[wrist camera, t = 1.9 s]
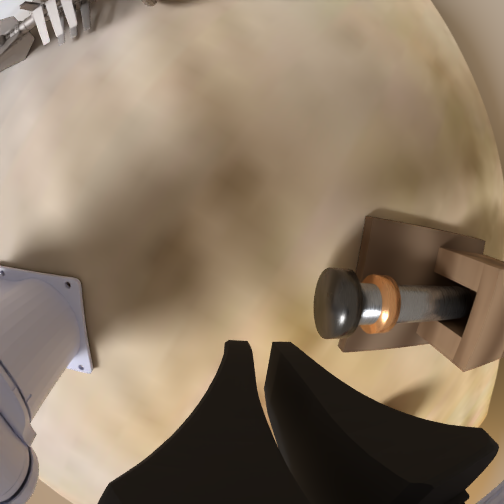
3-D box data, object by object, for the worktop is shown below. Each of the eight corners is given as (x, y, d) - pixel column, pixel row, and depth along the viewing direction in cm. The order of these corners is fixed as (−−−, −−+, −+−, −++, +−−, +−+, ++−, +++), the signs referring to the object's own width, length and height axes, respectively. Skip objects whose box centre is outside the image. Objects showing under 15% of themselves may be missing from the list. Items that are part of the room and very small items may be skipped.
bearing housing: (337, 345, 20) (383, 407, 13) (365, 216, 18) (439, 235, 11) (452, 334, 22) (499, 369, 15) (478, 238, 20) (536, 257, 13)
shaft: (309, 319, 18) (331, 352, 14) (320, 260, 17) (349, 280, 13) (438, 316, 19) (468, 336, 15) (451, 270, 18) (484, 285, 15)
